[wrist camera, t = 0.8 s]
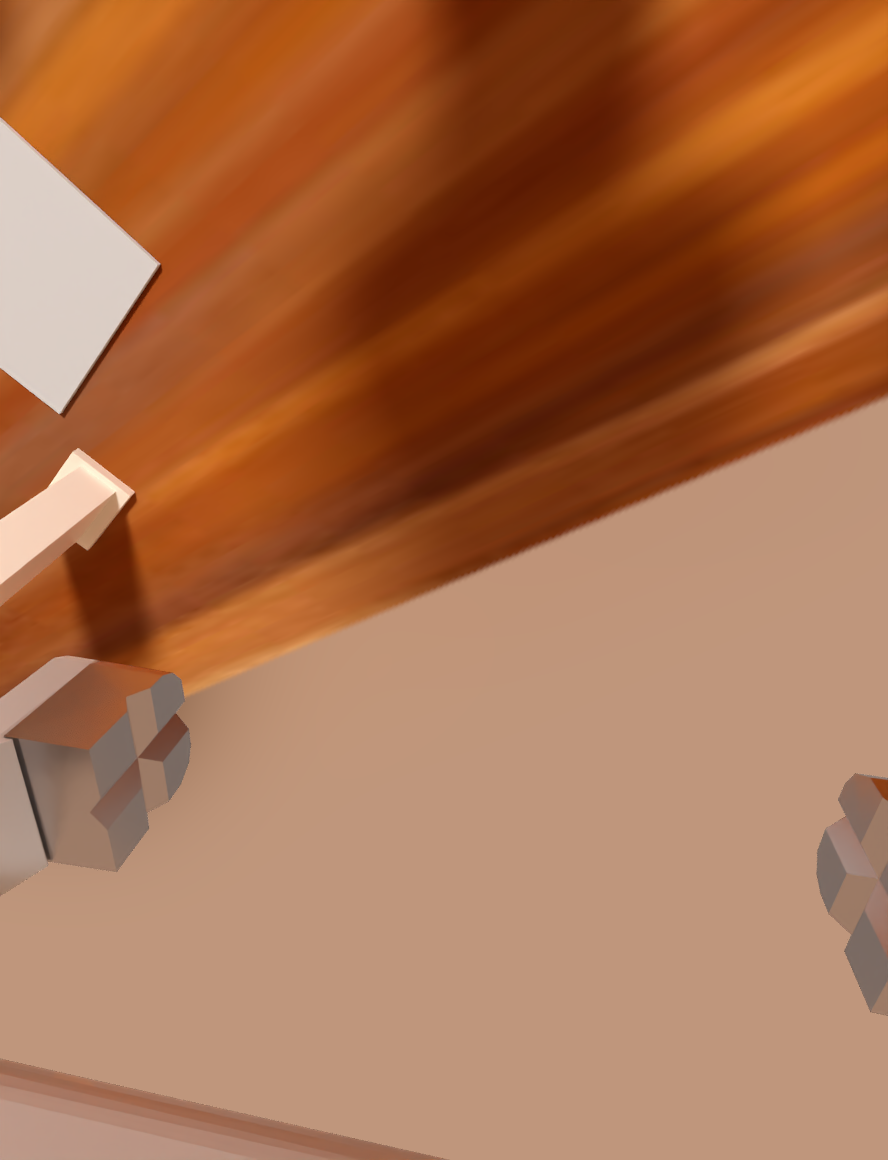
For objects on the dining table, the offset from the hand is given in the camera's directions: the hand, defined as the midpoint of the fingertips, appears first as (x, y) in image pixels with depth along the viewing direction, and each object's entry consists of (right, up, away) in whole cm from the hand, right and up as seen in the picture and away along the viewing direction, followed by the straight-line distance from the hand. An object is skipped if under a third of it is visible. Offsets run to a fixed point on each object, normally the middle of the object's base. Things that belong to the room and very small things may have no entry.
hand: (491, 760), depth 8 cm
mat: (-31, +25, +34) cm, 53 cm away
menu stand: (-29, +9, +44) cm, 53 cm away
